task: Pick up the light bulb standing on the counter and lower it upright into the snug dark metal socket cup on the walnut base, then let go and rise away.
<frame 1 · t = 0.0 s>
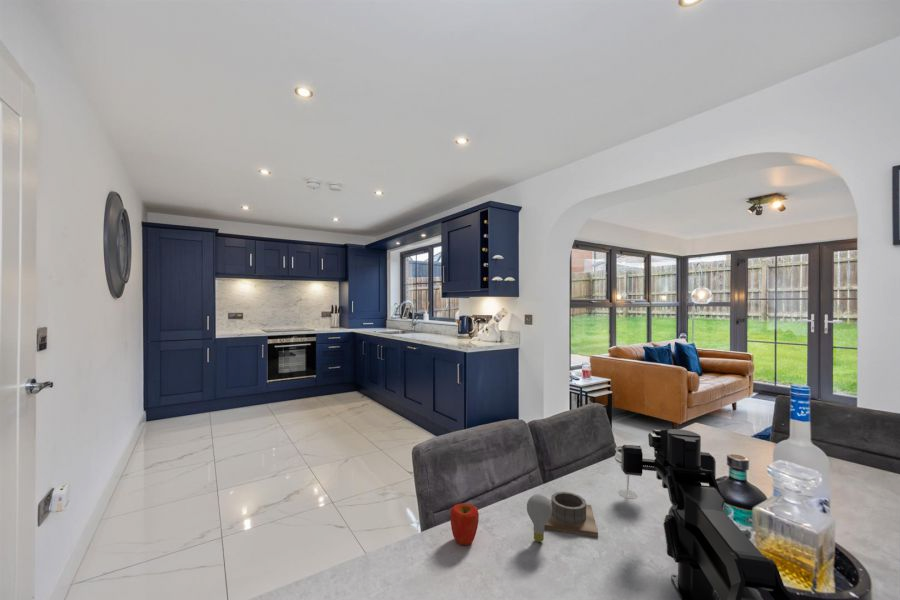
hand: (655, 450, 94), 17 cm above the table, tool horizontal, fingers open, 9 cm apart
socket base: (568, 518, 93), on the table
apple: (464, 541, 83), on the table
wineglass: (627, 494, 105), on the table
light bulb: (538, 542, 83), on the table
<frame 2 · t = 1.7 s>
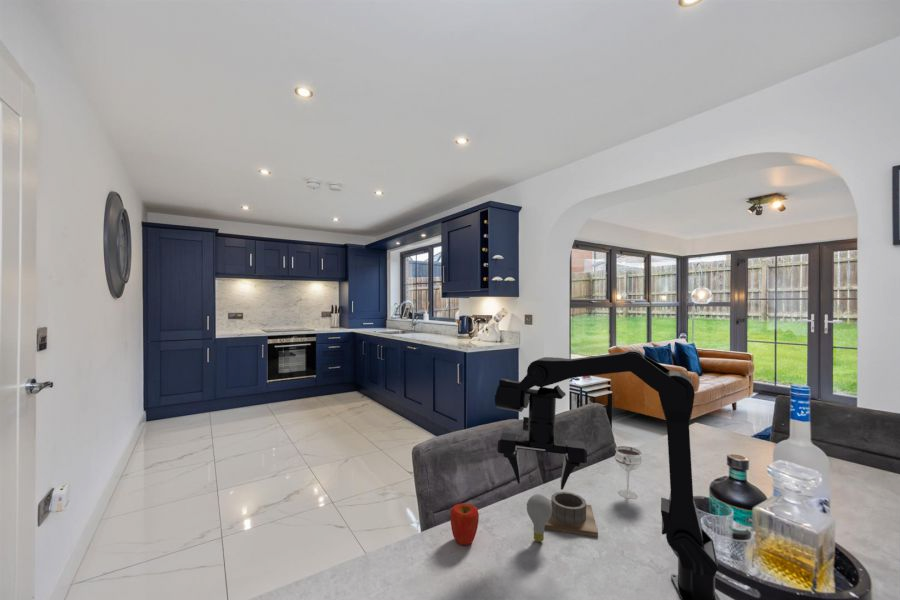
hand: (540, 485, 84), 12 cm above the table, tool pointing down, fingers open, 9 cm apart
nothing on the table moved.
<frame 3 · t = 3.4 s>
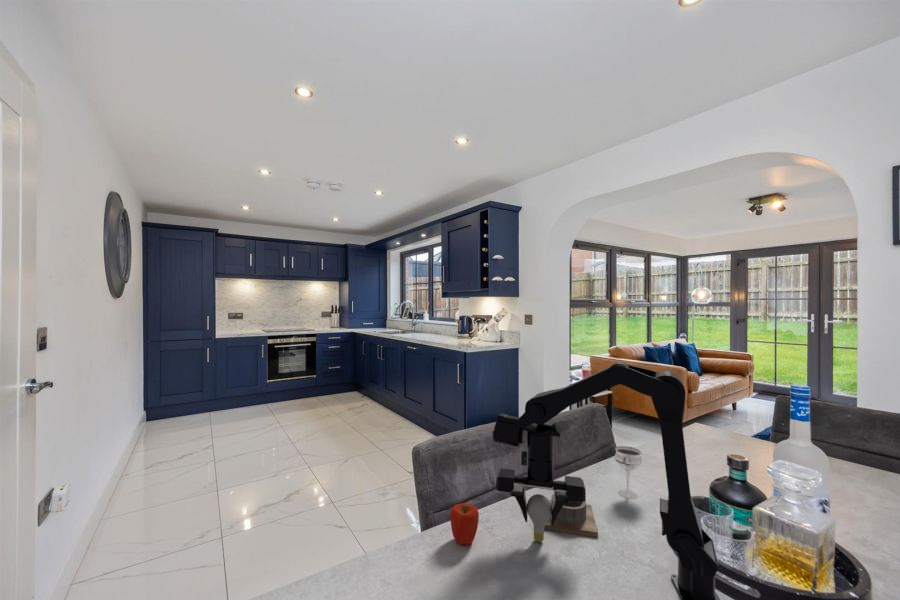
hand: (539, 522, 84), 4 cm above the table, tool pointing down, fingers closed on light bulb, 5 cm apart
light bulb: (538, 542, 83), on the table, touching gripper
everything else where it was.
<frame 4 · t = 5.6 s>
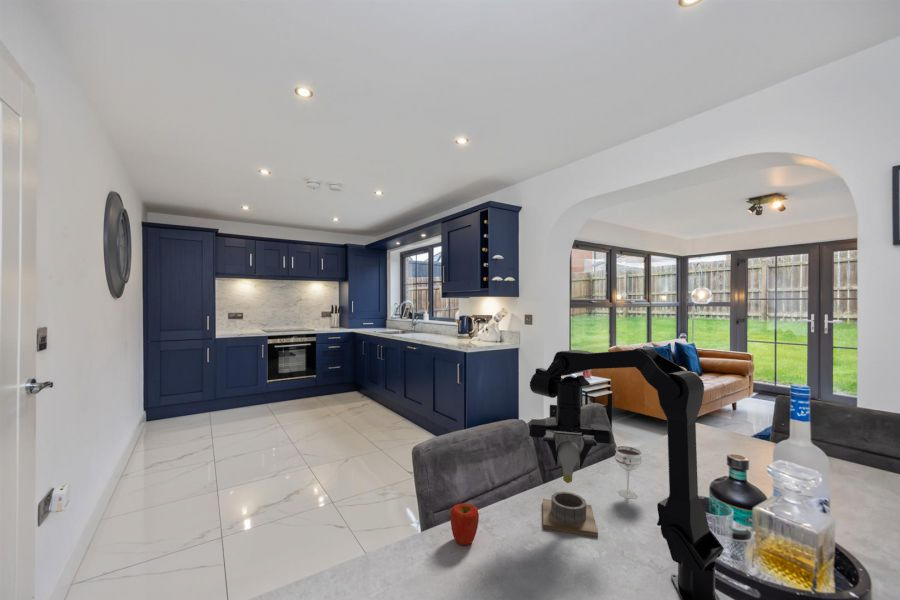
hand: (568, 466, 92), 13 cm above the table, tool pointing down, fingers closed on light bulb, 5 cm apart
light bulb: (567, 483, 92), point 9 cm above the table, touching gripper
everything else where it was.
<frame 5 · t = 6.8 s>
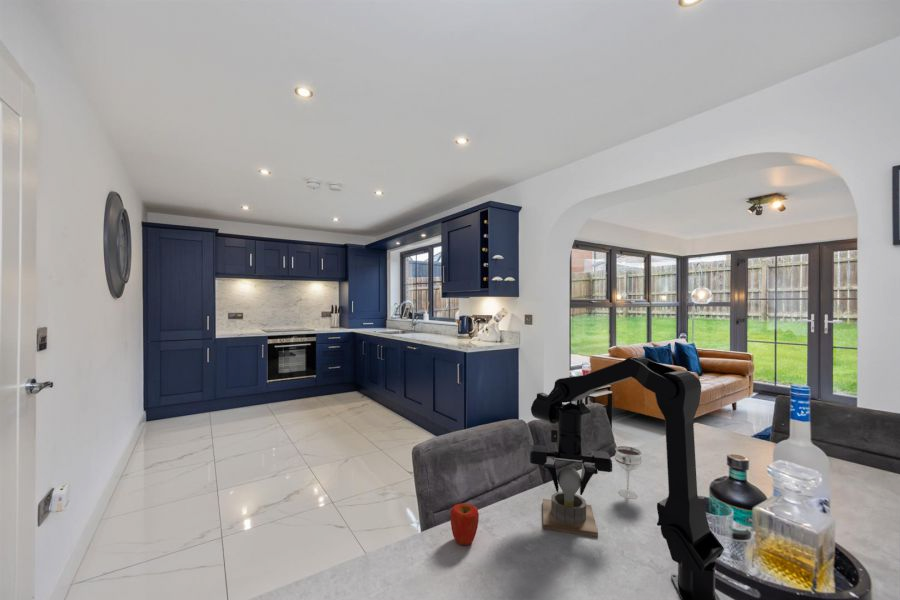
hand: (569, 492, 93), 6 cm above the table, tool pointing down, fingers closed on light bulb, 5 cm apart
light bulb: (568, 510, 92), point 2 cm above the table, touching gripper
everything else where it was.
when the fingers open (5 cm above the table, at t = 7.8 s): light bulb stays where it is, resting on socket base.
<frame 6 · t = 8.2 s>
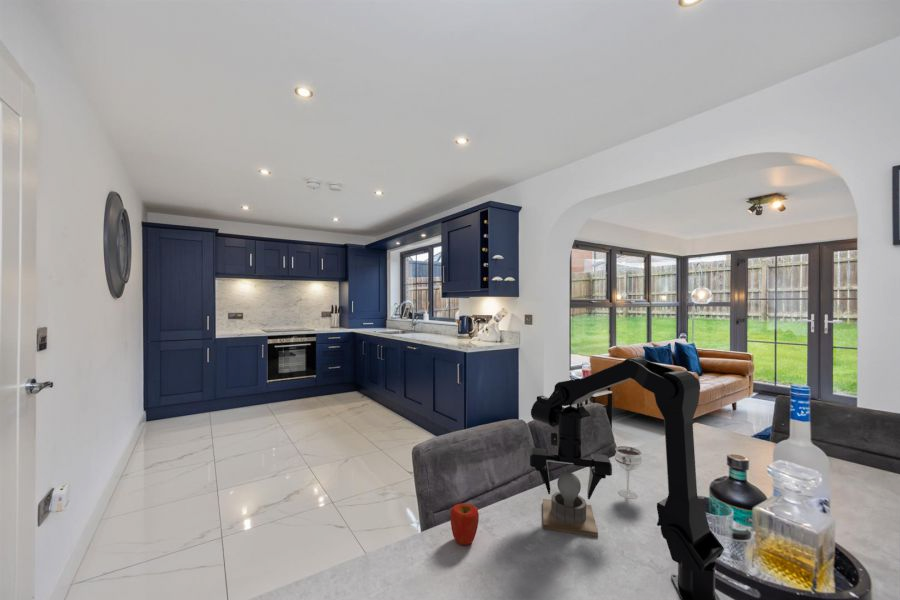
hand: (568, 496, 93), 5 cm above the table, tool pointing down, fingers open, 9 cm apart
light bulb: (568, 515, 93), point 1 cm above the table, touching socket base
everything else where it was.
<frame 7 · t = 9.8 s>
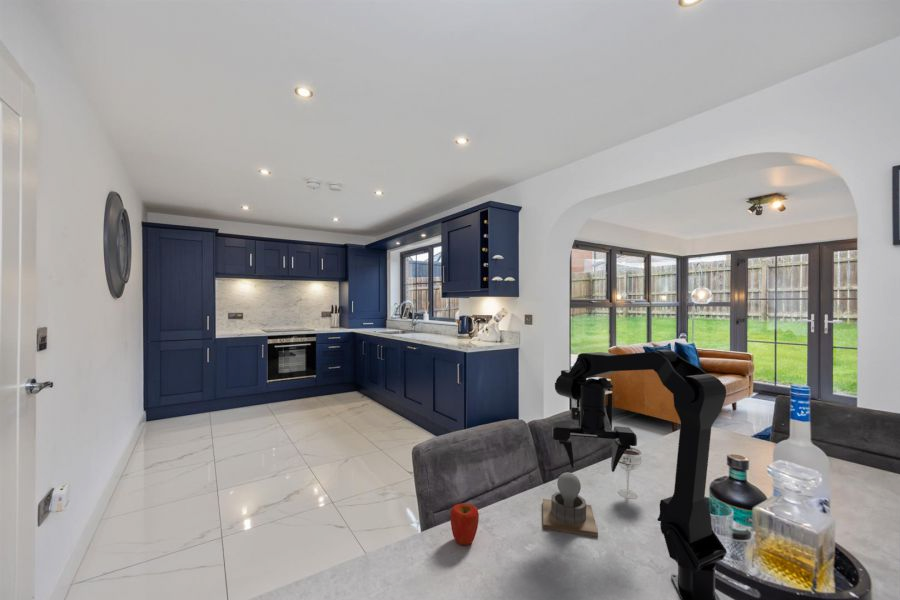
hand: (592, 469, 92), 13 cm above the table, tool pointing down, fingers open, 9 cm apart
nothing on the table moved.
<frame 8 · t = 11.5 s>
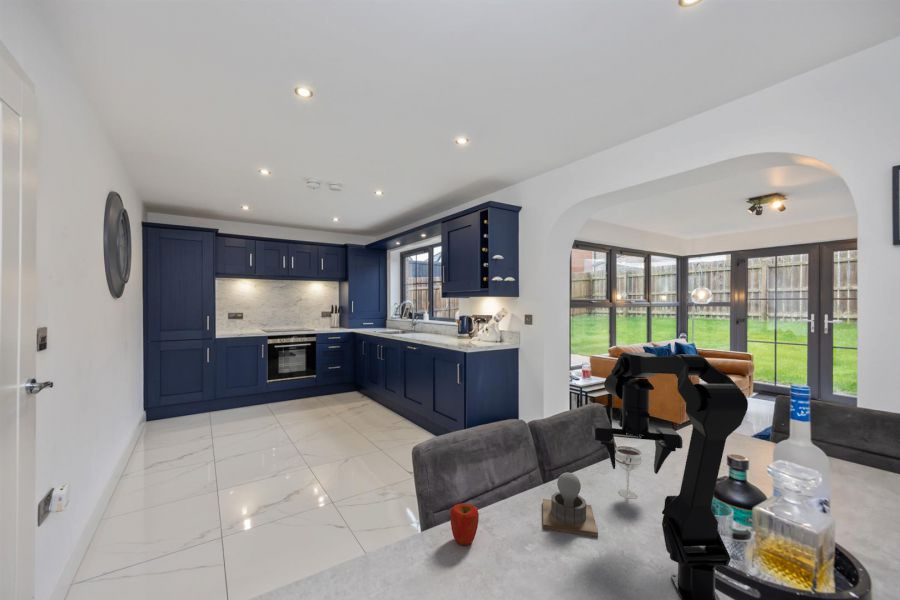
hand: (634, 470, 90), 13 cm above the table, tool pointing down, fingers open, 9 cm apart
nothing on the table moved.
at the end: light bulb 0.0 cm off-centre on the socket base, point 0.8 cm above the socket base's base; light bulb tilted 0°; the gripper is holding nothing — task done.
